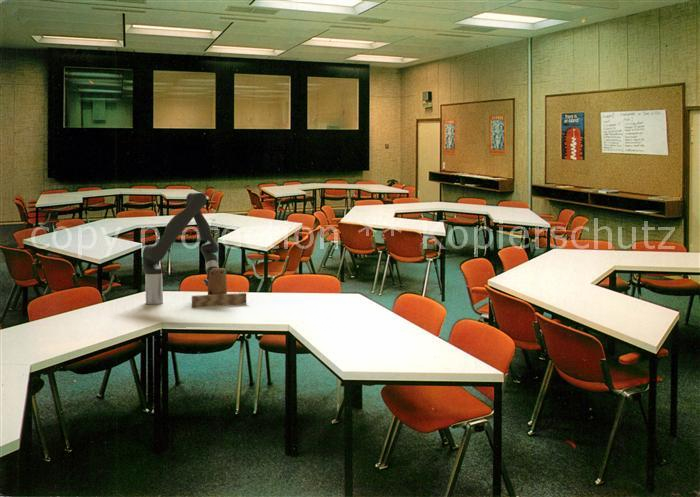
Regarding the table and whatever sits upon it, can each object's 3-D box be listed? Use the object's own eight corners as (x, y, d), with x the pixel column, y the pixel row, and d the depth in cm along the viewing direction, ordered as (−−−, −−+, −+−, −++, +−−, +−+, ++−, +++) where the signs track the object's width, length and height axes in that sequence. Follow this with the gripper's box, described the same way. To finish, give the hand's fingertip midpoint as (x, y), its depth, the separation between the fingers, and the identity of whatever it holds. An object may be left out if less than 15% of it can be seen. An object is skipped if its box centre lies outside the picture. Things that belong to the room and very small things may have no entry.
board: (192, 307, 325) (192, 296, 324) (191, 306, 328) (191, 295, 327) (246, 303, 336) (246, 293, 335) (245, 302, 339) (245, 292, 338)
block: (227, 301, 343) (226, 267, 342) (226, 303, 336) (226, 269, 334) (208, 301, 342) (207, 267, 340) (207, 304, 334) (206, 269, 333)
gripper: (201, 266, 347) (205, 290, 337) (224, 265, 352) (228, 288, 342) (200, 273, 353) (203, 297, 343) (223, 272, 358) (226, 296, 348)
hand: (216, 293), depth 343 cm, fingers closed
